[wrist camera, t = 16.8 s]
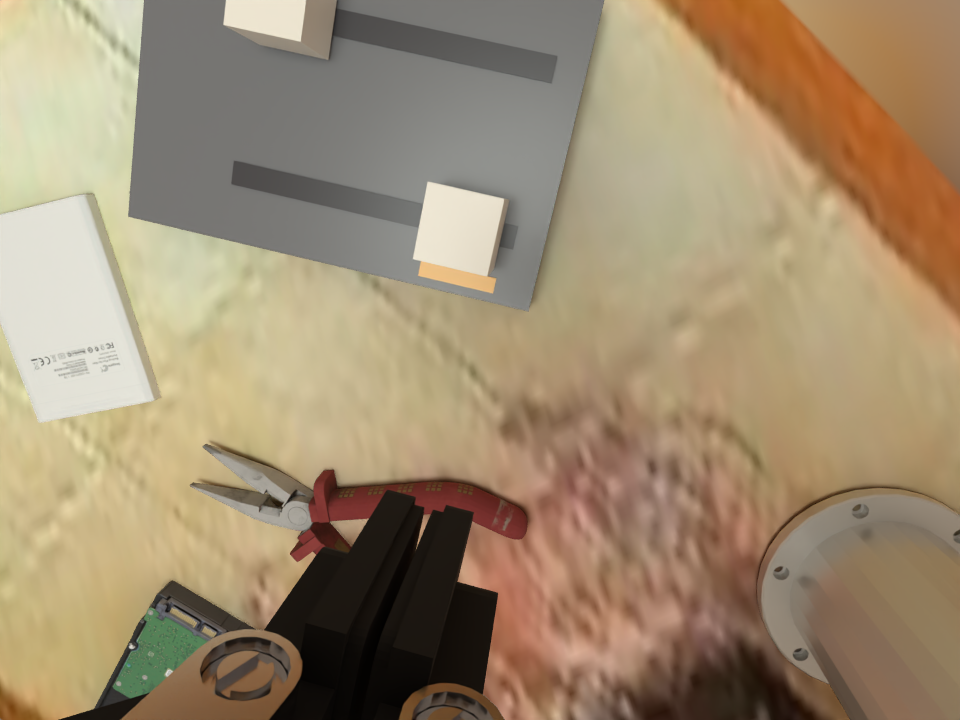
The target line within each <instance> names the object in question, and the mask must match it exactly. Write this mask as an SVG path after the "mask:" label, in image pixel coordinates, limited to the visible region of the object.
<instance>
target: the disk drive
mask: <svg viewBox="0 0 960 720" xmlns="http://www.w3.org/2000/svg"><path fill="white" fill-rule="evenodd" d="M243 629H254V628H252V627H251V626H249V625H247V624H246V623H244V622H241V621H240V620H238V619H236V618H235V617H233V616H231V615H230V614H229V613H227V612H225V611H224V610H222V609H220V608H219V607H217V606H215V605H213V604H212V603H210V602H208V601H207V600H205V599H203V598H202V597H200V596H198V595H197V594H195V593H193V592H191V591H190V590H188V589H186V588H185V587H183V586H181V585H180V584H178V583H176V582H175V581H171V582H169V583H168V584H167V585H166V586H165V587H164V588H163V589H162V590H161V591H160V592H159V593H158V594H157V595H156V597H155V599H154V601H153V603H152V604H151V605H150V607H149V609H148V611H147V613H146V615H145V616H144V617H143V618H142V619H141V620H140V622H139V623H138V625H137V627H136V629H135V631H134V633H133V636H132V638H131V640H130V642H129V643H128V646H127V647H126V649H125V651H124V653H123V655H122V657H121V659H120V661H119V662H118V664H117V666H116V668H115V670H114V672H113V674H112V676H111V678H110V679H109V682H108V683H107V685H106V688H105V689H104V691H103V693H102V695H101V697H100V699H99V700H98V702H97V704H96V706H95V708H94V709H96V708H100V707H103V706H106V705H110V704H113V703H116V702H120V701H123V700H126V699H130V698H133V697H136V696H140V695H143V694H147V693H150V692H151V691H152V690H154V689H155V688H156V687H157V686H158V685H159V684H160V683H161V682H162V681H163V680H164V679H166V678H167V677H168V676H169V675H170V674H171V673H172V672H173V671H174V670H175V669H177V668H178V667H179V666H180V665H181V664H182V663H183V662H184V661H185V660H186V659H188V658H189V657H190V656H191V655H192V654H193V653H194V652H195V651H196V650H197V649H198V648H200V647H201V646H202V645H204V644H205V643H207V642H208V641H210V640H211V639H212V638H214V637H217V636H219V635H222V634H225V633H227V632H231V631H237V630H243ZM254 630H256V629H254Z"/></svg>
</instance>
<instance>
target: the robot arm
mask: <svg viewBox="0 0 960 720" xmlns="http://www.w3.org/2000/svg"><path fill="white" fill-rule="evenodd" d="M415 501H416V497H414V496H411V495H407V494H403V493H399V492H395V491H392V490H387V491H386V492H385V493H384V495H383V497H382V498H381V500H380V502H379V503H378V505H377V507H376V508H375V510H374V512H373V513H372V515H371V516H370V518H369V520H368V521H367V523H366V525H365V526H364V528H363V530H362V531H361V533H360V534H359V536H358V538H357V539H356V541H355V543H354V544H353V546H352V548H351V549H350V551H349V552H344V551H341V550H337V549H333V548H330V547H326V546H325V547H322V549H321V550H320V551H319V552H318V554H317V555H316V556H315V558H314V559H313V561H312V562H311V564H310V565H309V566H308V568H307V569H306V571H305V572H304V574H303V575H302V576H301V578H300V579H299V581H298V582H297V584H296V585H295V586H294V588H293V589H292V591H291V592H290V594H289V595H288V596H287V598H286V599H285V601H284V602H283V604H282V605H281V606H280V608H279V609H278V611H277V612H276V614H275V615H274V616H273V618H272V619H271V621H270V622H269V624H268V625H267V627H266V628H265V629H264V630H254V629H243V630H237V631H231V632H227V633H225V634H222V635H219V636H217V637H214V638H212V639H211V640H210V641H208V642H207V643H205V644H204V645H202V646H201V647H200V648H198V649H197V650H196V651H195V652H194V653H193V654H192V655H191V656H190V657H189V658H188V659H186V660H185V661H184V662H183V663H182V664H181V665H180V666H179V667H178V668H177V669H175V670H174V671H173V672H172V673H171V674H170V675H169V676H168V677H167V678H166V679H164V680H163V681H162V682H161V683H160V684H159V685H158V686H157V687H156V688H155V689H154V690H152V691H151V692H150V693H147V694H143V695H140V696H136V697H133V698H130V699H126V700H123V701H120V702H116V703H113V704H110V705H106V706H103V707H100V708H96V709H93V710H90V711H86V712H83V713H80V714H76V715H73V716H70V717H66V718H63V719H60V720H505V719H504V718H503V716H502V715H501V713H500V711H499V710H498V708H497V707H496V706H495V705H494V704H493V703H492V702H491V701H490V700H489V699H488V698H486V697H485V696H484V695H483V689H484V683H485V676H486V670H487V663H488V657H489V650H490V643H491V637H492V630H493V624H494V617H495V611H496V604H497V597H498V593H497V592H493V591H489V590H486V589H482V588H478V587H474V586H471V585H467V584H463V583H460V582H457V581H458V577H459V573H460V569H461V565H462V561H463V557H464V552H465V548H466V544H467V540H468V536H469V532H470V528H471V523H472V519H473V515H474V512H472V511H468V510H464V509H460V508H457V507H453V506H449V505H446V506H445V509H444V511H443V512H441V511H437V510H433V511H432V513H431V515H430V518H429V520H428V523H427V525H426V527H425V530H424V532H423V535H422V537H421V539H420V542H419V544H418V547H417V542H418V537H419V533H420V528H421V524H422V519H423V515H424V507H422V506H418V505H415ZM854 506H855V507H854ZM416 547H417V549H416ZM757 602H758V606H759V610H760V614H761V618H762V620H763V622H764V625H765V627H766V629H767V631H768V633H769V635H770V637H771V639H772V640H773V642H774V643H775V645H776V646H777V648H778V649H779V651H780V652H781V653H782V654H783V655H784V656H785V657H786V658H787V659H788V661H789V662H791V663H792V664H793V665H794V666H796V667H797V668H799V669H800V670H802V671H803V672H805V673H806V674H807V675H809V676H811V677H813V678H816V679H818V680H820V681H822V682H824V683H827V684H830V686H831V688H832V689H833V691H834V693H835V694H836V696H837V698H838V700H839V701H840V703H841V705H842V706H843V708H844V710H845V712H846V713H847V715H848V717H849V718H850V720H960V515H959V514H957V513H956V512H955V511H953V510H952V509H950V508H949V507H947V506H946V505H945V504H943V503H941V502H939V501H936V500H934V499H932V498H930V497H927V496H925V495H923V494H919V493H915V492H910V491H906V490H902V489H889V488H871V489H861V490H854V491H850V492H846V493H843V494H839V495H835V496H832V497H830V498H828V499H826V500H823V501H821V502H819V503H817V504H814V505H813V506H811V507H810V508H808V509H807V510H805V511H804V512H802V513H801V514H799V515H798V516H796V517H795V518H794V519H793V520H792V521H791V522H790V523H789V524H787V525H786V526H785V527H784V528H783V529H782V530H781V531H780V532H779V534H778V535H777V537H776V538H775V539H774V541H773V542H772V544H771V545H770V547H769V548H768V550H767V552H766V555H765V557H764V559H763V561H762V564H761V567H760V571H759V576H758V581H757Z"/></svg>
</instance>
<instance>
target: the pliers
mask: <svg viewBox="0 0 960 720" xmlns="http://www.w3.org/2000/svg"><path fill="white" fill-rule="evenodd" d="M203 448H204V449H205V450H207V451H208V452H209V453H210V454H212V455H213V456H214V457H215V458H217V459H218V460H219V461H220V462H221V463H223V464H224V465H225V466H226V467H228V468H229V469H230V470H231V471H233V472H234V473H235V474H236V475H237V476H239V477H240V478H241V479H242V480H244V481H245V482H246V483H247V484H249V485H250V486H252V487H253V488H255V489H256V490H258V491H259V492H261V493H257V492H253V491H247V490H240V489H234V488H227V487H220V486H213V485H207V484H200V483H192V484H191V485H190V486H191V487H192V488H194V489H196V490H198V491H200V492H202V493H204V494H206V495H208V496H210V497H212V498H214V499H216V500H218V501H220V502H222V503H224V504H226V505H228V506H230V507H232V508H234V509H236V510H238V511H240V512H242V513H244V514H246V515H248V516H250V517H252V518H253V519H256V520H259V521H262V522H265V523H268V524H271V525H275V526H279V527H283V528H288V529H292V530H296V531H302V532H301V533H300V535H299V536H298V539H299V542H298V543H297V544H296V546H295V547H294V548H293V550H292V551H291V553H290V555H291V556H292V557H293V558H294V559H295V560H296V561H297V562H298V561H300V560H301V559H303V558H304V557H306V556H307V555H308V554H310V553H311V552H312V551H313V552H314V553H315V554H316V555H317V554H318V552H319V551H320V550H321V549H322V547H325V546H326V547H330V548H333V549H337V550H341V551H344V552H349V551H350V549H351V548H352V547H351V546H350V545H349V544H348V543H347V542H346V541H345V540H344V538H343V537H342V536H341V535H340V534H339V533H338V532H337V530H336V529H335V528H334V527H333V526H332V525H331V524H330V523H329V522H330V521H339V520H353V519H368V518H370V516H371V515H372V513H373V512H374V510H375V508H376V507H377V505H378V503H379V502H380V500H381V498H382V497H383V495H384V493H385V492H386V491H387V490H392V491H395V492H399V493H403V494H407V495H411V496H414V497H416V501H415V505H418V506H422V507H424V514H431V513H432V511H433V510H437V511H441V512H443V511H444V509H445V506H446V505H449V506H453V507H457V508H460V509H464V510H468V511H472V512H474V515H473V519H472V521H473V522H475V523H477V524H479V525H481V526H484V527H486V528H488V529H490V530H492V531H494V532H497V533H499V534H501V535H503V536H506V537H508V538H512V539H522V538H523V537H524V535H525V534H526V531H527V518H526V516H525V514H524V512H523V511H522V510H521V509H520V508H518V507H517V506H515V505H513V504H510V503H508V502H506V501H504V500H502V499H500V498H498V497H495V496H493V495H491V494H489V493H487V492H485V491H483V490H481V489H478V488H476V487H474V486H471V485H466V484H462V483H454V482H420V483H407V484H395V485H382V486H369V487H356V488H343V489H338V488H337V483H336V478H335V473H334V470H327V471H323V472H322V473H321V475H320V476H319V477H318V478H317V479H316V481H315V483H314V492H313V491H312V490H310V489H309V488H307V487H305V486H304V485H302V484H301V483H299V482H297V481H296V480H294V479H293V478H291V477H289V476H287V475H285V474H284V473H282V472H280V471H278V470H276V469H273V468H271V467H268V466H265V465H263V464H260V463H257V462H254V461H252V460H249V459H246V458H244V457H241V456H238V455H235V454H233V453H230V452H227V451H224V450H222V449H219V448H216V447H214V446H211V445H208V444H205V445H204V446H203ZM264 493H268V494H270V495H267V494H264ZM271 496H273V497H274V498H276V499H277V500H279V501H280V502H282V503H283V505H282V507H279V506H276V505H275V504H274V503H273V502H272V501H271Z"/></svg>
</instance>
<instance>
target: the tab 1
mask: <svg viewBox="0 0 960 720" xmlns="http://www.w3.org/2000/svg"><path fill="white" fill-rule="evenodd" d="M336 3H337V0H226V5H225V14H224V24H223V25H225V26H226V27H228V28H230V29H232V30H234V31H235V32H237V33H239V34H241V35H243V36H244V37H246V38H248V39H250V40H252V41H253V42H255V43H257V44H259V45H262V46H267V47H272V48H276V49H281V50H285V51H290V52H294V53H299V54H303V55H308V56H312V57H317V58H322V59H326V60H328V58H329V51H330V45H331V38H332V31H333V24H334V17H335V10H336Z"/></svg>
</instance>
